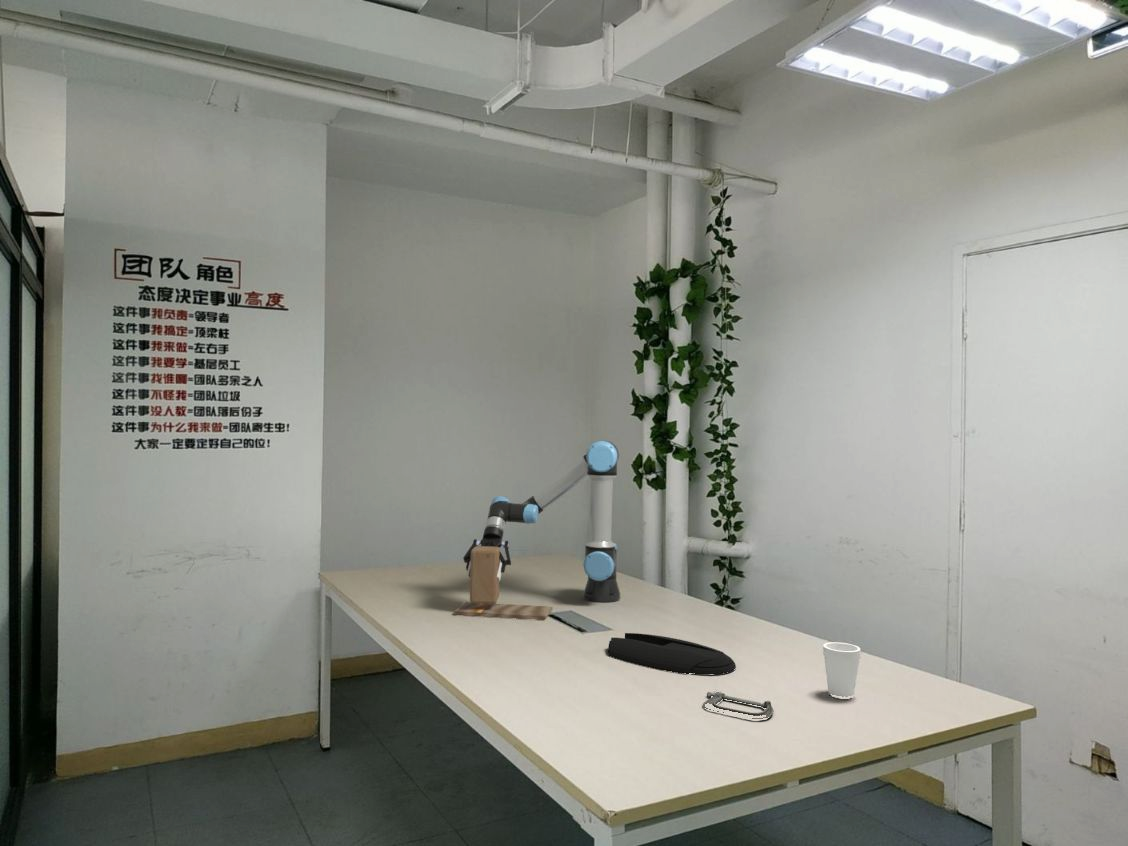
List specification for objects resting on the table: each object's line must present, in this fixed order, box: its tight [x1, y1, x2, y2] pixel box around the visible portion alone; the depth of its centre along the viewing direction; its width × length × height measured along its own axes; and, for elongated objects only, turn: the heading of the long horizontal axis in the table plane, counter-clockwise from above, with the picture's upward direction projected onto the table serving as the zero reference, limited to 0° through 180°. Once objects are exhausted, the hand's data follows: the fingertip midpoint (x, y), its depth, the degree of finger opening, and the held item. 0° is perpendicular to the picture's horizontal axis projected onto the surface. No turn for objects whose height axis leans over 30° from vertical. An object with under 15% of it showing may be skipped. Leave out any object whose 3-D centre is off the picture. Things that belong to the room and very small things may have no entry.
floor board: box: [453, 601, 554, 621], centre depth 304 cm, size 34×16×2 cm, turn 81°
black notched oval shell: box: [607, 632, 737, 675], centre depth 248 cm, size 25×41×5 cm, turn 51°
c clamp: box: [702, 690, 774, 719], centre depth 207 cm, size 20×17×3 cm
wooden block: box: [469, 545, 501, 604], centre depth 305 cm, size 10×10×20 cm
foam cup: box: [822, 641, 862, 697], centre depth 217 cm, size 10×9×13 cm
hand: (483, 578), depth 303 cm, fingers closed on wooden block, 11 cm apart
